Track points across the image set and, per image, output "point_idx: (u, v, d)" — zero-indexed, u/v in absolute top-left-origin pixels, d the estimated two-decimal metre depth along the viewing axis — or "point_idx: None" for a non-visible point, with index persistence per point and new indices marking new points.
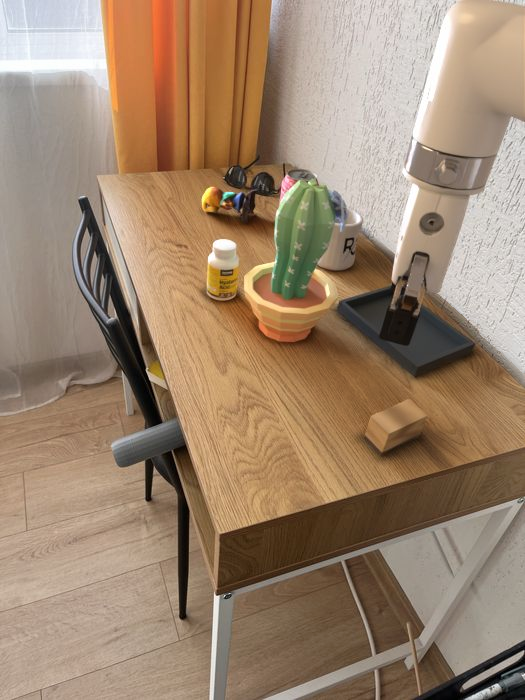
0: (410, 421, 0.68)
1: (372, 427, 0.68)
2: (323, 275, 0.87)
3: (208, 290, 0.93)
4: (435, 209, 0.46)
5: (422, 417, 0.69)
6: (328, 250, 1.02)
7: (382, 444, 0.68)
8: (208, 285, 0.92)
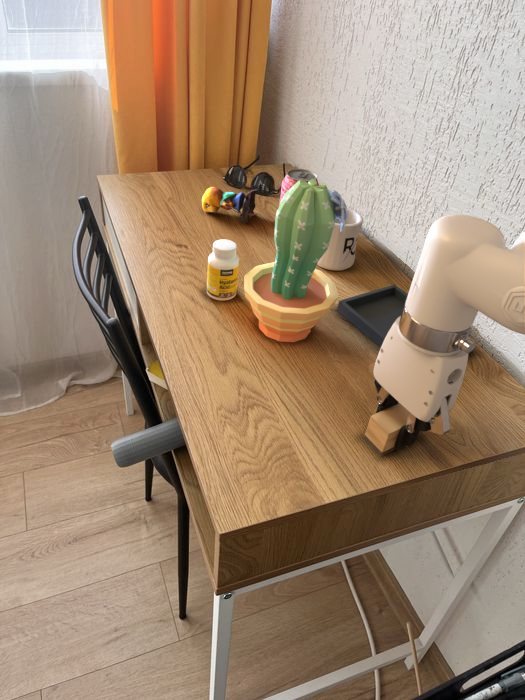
0: None
1: (372, 427, 0.68)
2: (323, 275, 0.87)
3: (208, 290, 0.93)
4: (456, 366, 0.58)
5: None
6: (328, 250, 1.02)
7: (382, 444, 0.68)
8: (208, 285, 0.92)
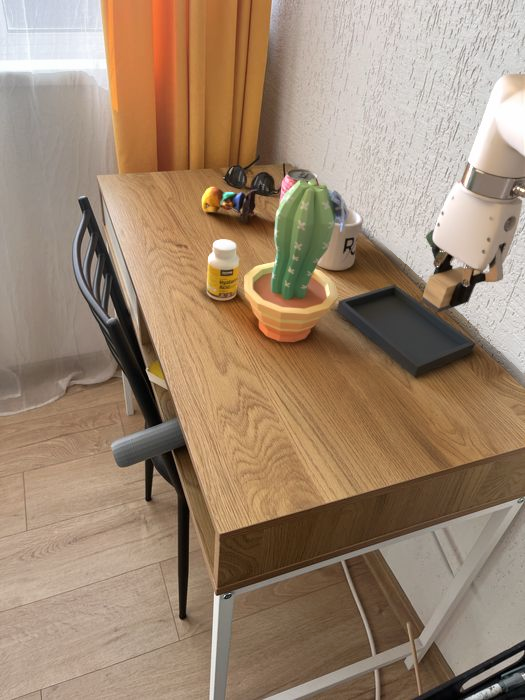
0: None
1: (430, 286, 0.78)
2: (323, 275, 0.87)
3: (208, 290, 0.93)
4: (512, 213, 0.68)
5: None
6: (328, 250, 1.02)
7: (440, 300, 0.77)
8: (208, 285, 0.92)
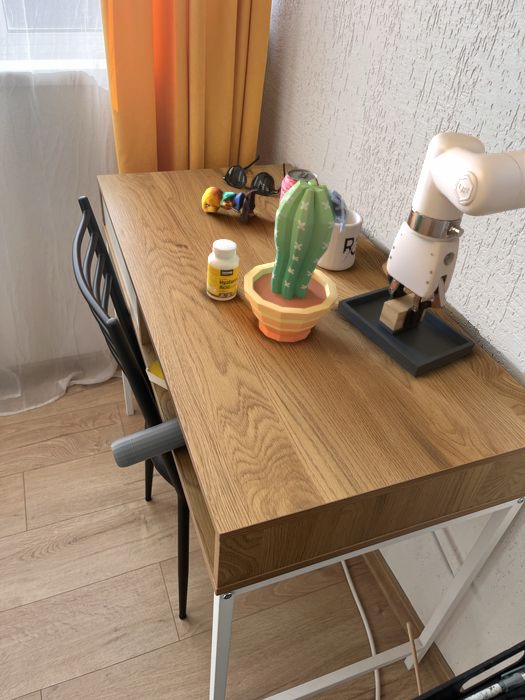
0: None
1: (385, 311, 0.88)
2: (323, 275, 0.87)
3: (208, 290, 0.93)
4: (450, 250, 0.78)
5: None
6: (328, 250, 1.02)
7: (393, 323, 0.87)
8: (208, 285, 0.92)
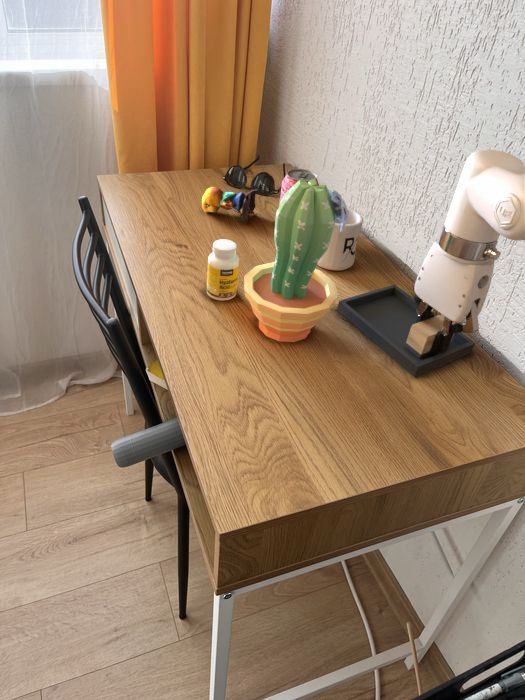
0: None
1: (413, 334, 0.84)
2: (323, 275, 0.87)
3: (208, 290, 0.93)
4: (485, 273, 0.74)
5: None
6: (328, 250, 1.02)
7: (421, 347, 0.83)
8: (208, 285, 0.92)
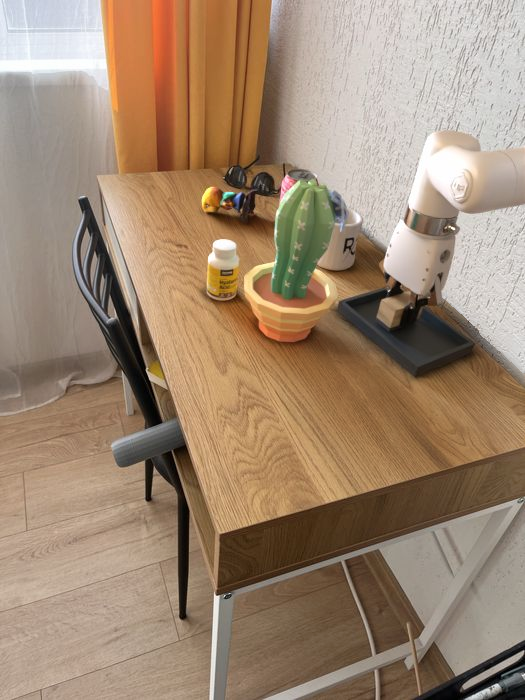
0: None
1: (382, 309, 0.89)
2: (323, 275, 0.87)
3: (208, 290, 0.93)
4: (446, 248, 0.78)
5: None
6: (328, 250, 1.02)
7: (390, 321, 0.88)
8: (208, 285, 0.92)
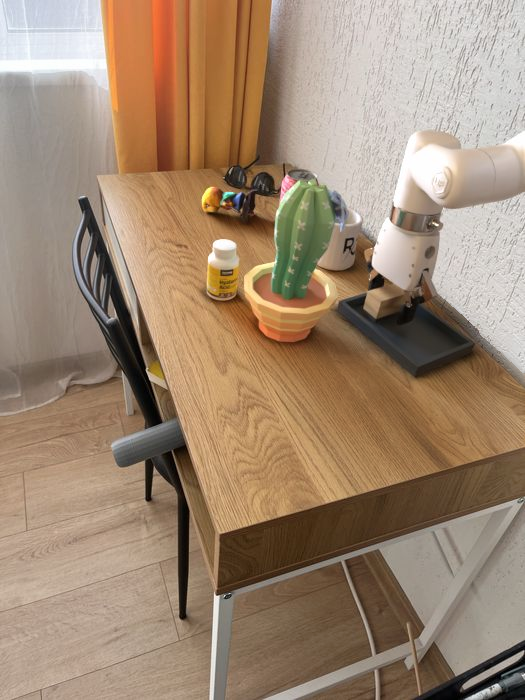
0: (397, 295, 0.90)
1: (368, 300, 0.91)
2: (323, 275, 0.87)
3: (208, 290, 0.93)
4: (431, 244, 0.80)
5: None
6: (328, 250, 1.02)
7: (376, 312, 0.90)
8: (208, 285, 0.92)
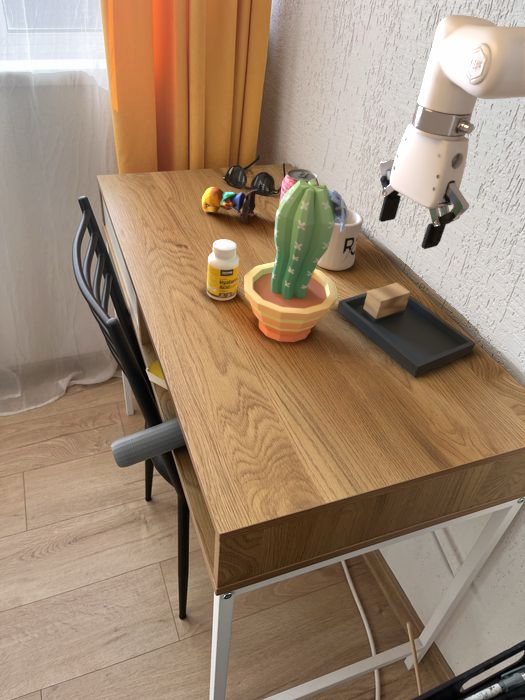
0: (397, 295, 0.90)
1: (368, 300, 0.91)
2: (323, 275, 0.87)
3: (208, 290, 0.93)
4: (459, 150, 0.72)
5: (406, 293, 0.91)
6: (328, 250, 1.02)
7: (376, 312, 0.90)
8: (208, 285, 0.92)
